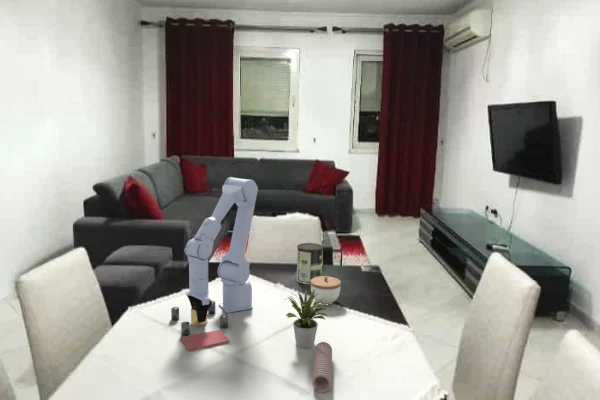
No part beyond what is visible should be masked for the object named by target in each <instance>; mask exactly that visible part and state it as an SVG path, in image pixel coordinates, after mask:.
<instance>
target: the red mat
mask: <svg viewBox="0 0 600 400" xmlns="http://www.w3.org/2000/svg"><path fill="white" fill-rule="evenodd" d="M180 340H181V341H182V343H183V345H184V347H185V349H187V351H188V352H192V351H196V350H201V349H206V348H211V347H215V346H219V345H224V344H229V343H230V342H231V341H230V340H231V339H229V338H228V337H227V335H226V334H225V333H224V331H223V330H222V328H220V329H215V330H212V331H205V332H200V333H196V334H191V335H188V336H181V337H180Z"/></svg>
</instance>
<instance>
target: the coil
mask: <svg viewBox="0 0 600 400" xmlns="http://www.w3.org/2000/svg"><path fill="white" fill-rule="evenodd" d="M314 347H315V349H314V359H313V367H312V377H311V378H312V379H311V384H312V386H313V388H314V389H315V390H317V391H316V392H317V393H322V394H323V393H327V392H328V391H330V389H331V387H332V373H333V369H332V368H333V348H332V346H331V345H330V343H328V342H326V341H321V342H318V343H316V345H315V346H314Z"/></svg>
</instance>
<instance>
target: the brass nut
mask: <svg viewBox="0 0 600 400" xmlns="http://www.w3.org/2000/svg"><path fill="white" fill-rule="evenodd" d="M207 323H208V315H207V316H206V320H205V322H200V323H199V322H198V320H197V314H196V309H195V306H193V307H192V308H190V324H191V326H195V327H200V326H201V327H202V326H206V325H207Z"/></svg>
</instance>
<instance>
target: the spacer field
mask: <svg viewBox="0 0 600 400" xmlns="http://www.w3.org/2000/svg"><path fill="white" fill-rule="evenodd" d="M211 301H212V304H211V305H210V307H209V309H208V312H207V314H209V315H211V314H212V315H213V314H216V301H215V300H211ZM170 312H171V313H170V314H171V317H170V318H171V320H172V321H179V320H180V307H177V306H173V307H171V308H170ZM190 324H191V322H189V321H183V322H181V323H180V326H181V328H180V329H181V330H180V333H181V337H185V336H190V334H191V332H190ZM219 328H220V329H227V328H229V315H228V314H220V316H219Z"/></svg>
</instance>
